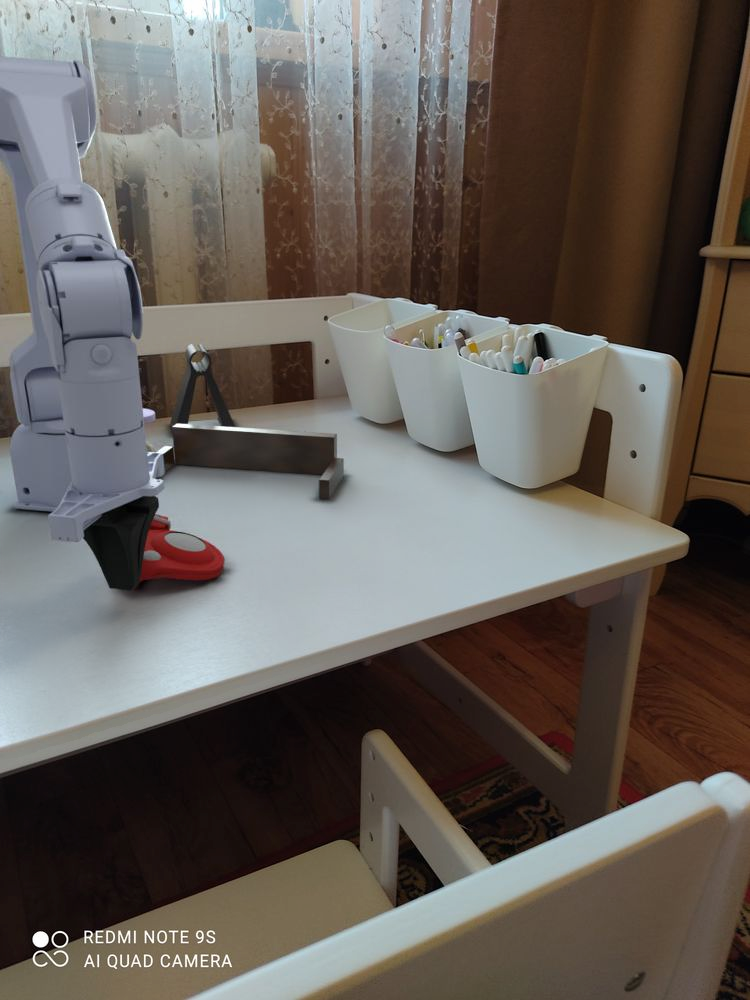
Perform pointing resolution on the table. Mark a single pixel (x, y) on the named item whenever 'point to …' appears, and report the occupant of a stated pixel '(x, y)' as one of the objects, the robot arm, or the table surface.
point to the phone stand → (187, 392)
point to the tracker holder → (178, 554)
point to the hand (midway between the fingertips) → (124, 585)
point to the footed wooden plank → (258, 451)
